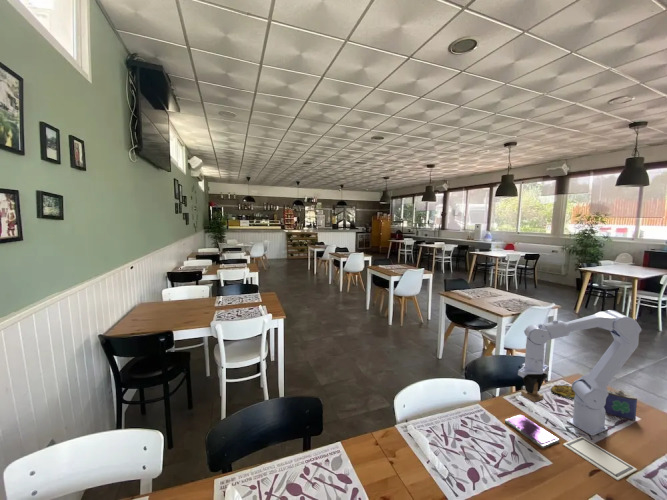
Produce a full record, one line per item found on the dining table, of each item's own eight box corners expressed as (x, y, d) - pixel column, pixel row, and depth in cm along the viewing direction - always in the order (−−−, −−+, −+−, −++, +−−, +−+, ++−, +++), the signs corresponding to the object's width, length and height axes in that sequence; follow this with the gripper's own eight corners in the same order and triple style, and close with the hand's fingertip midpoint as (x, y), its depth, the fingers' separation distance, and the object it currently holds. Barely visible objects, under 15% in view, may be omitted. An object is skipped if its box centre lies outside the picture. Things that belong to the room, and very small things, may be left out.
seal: (561, 402, 117) (593, 400, 119) (563, 393, 116) (595, 391, 118) (543, 387, 126) (573, 386, 128) (545, 378, 126) (575, 377, 127)
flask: (633, 418, 106) (636, 391, 105) (637, 422, 103) (639, 395, 103) (601, 410, 110) (603, 384, 110) (604, 414, 108) (606, 388, 107)
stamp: (529, 392, 110) (530, 377, 109) (543, 400, 105) (544, 384, 105) (521, 395, 108) (522, 379, 108) (534, 402, 103) (535, 386, 103)
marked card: (581, 437, 96) (581, 436, 96) (636, 470, 83) (637, 468, 83) (563, 444, 92) (563, 443, 92) (617, 480, 79) (617, 478, 79)
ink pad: (520, 416, 106) (520, 413, 106) (559, 442, 94) (559, 438, 94) (504, 422, 103) (505, 418, 103) (542, 448, 91) (542, 444, 91)
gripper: (536, 350, 112) (534, 382, 113) (511, 355, 107) (509, 389, 108) (555, 357, 105) (553, 391, 106) (529, 363, 100) (527, 399, 101)
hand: (532, 391), depth 106 cm, fingers closed on stamp, 3 cm apart
